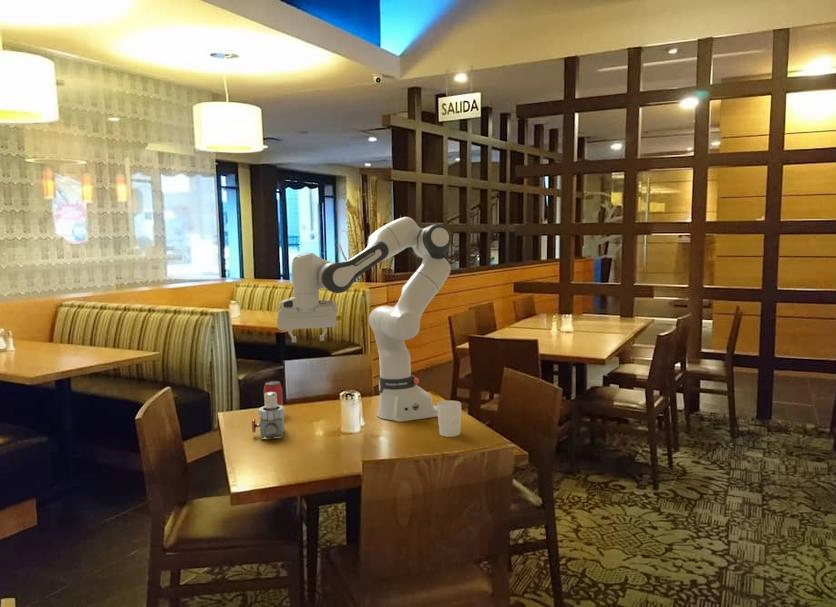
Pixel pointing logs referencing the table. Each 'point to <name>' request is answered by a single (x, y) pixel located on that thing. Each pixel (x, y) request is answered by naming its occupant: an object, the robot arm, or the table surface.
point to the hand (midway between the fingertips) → (308, 341)
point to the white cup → (449, 418)
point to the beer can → (274, 390)
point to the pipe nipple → (270, 401)
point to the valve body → (270, 422)
